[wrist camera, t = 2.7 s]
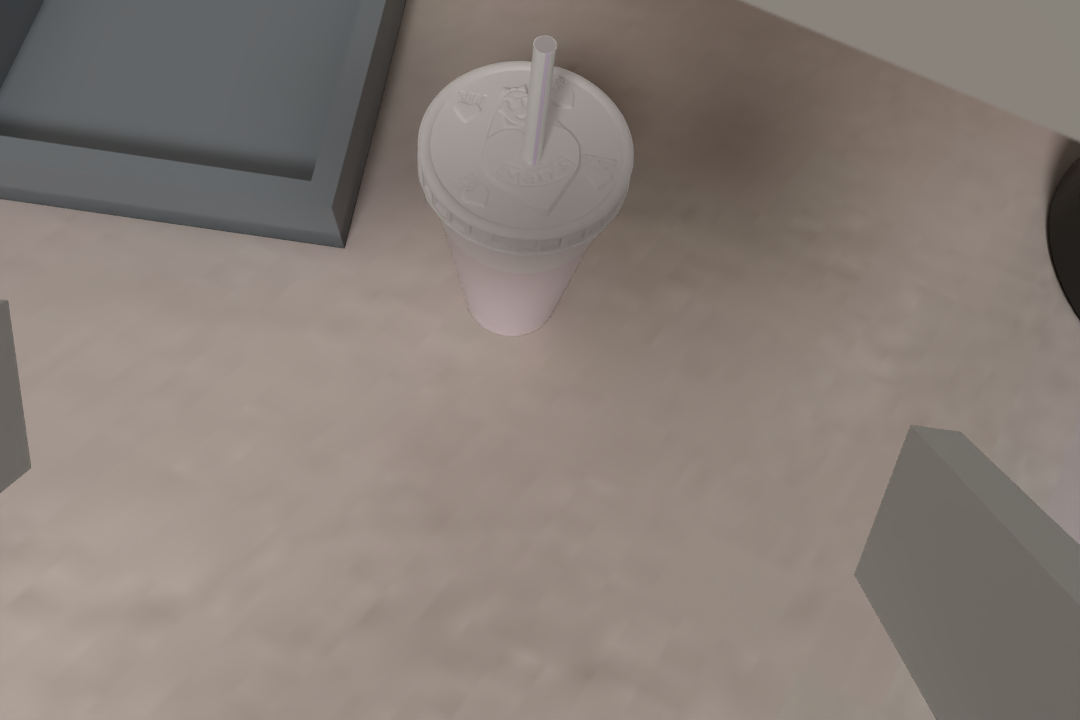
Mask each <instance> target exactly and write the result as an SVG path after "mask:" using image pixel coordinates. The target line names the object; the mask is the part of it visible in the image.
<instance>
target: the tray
mask: <svg viewBox="0 0 1080 720" xmlns="http://www.w3.org/2000/svg"><path fill="white" fill-rule="evenodd" d="M405 2H406V0H0V199H6V200H13V201H19V202H26V203H33V204H40V205H47V206H54V207H61V208H68V209H75V210H82V211H89V212H96V213H103V214H110V215H117V216H123V217H130V218H137V219H144V220H151V221H158V222H165V223H172V224H179V225H186V226H193V227H200V228H207V229H214V230H221V231H227V232H234V233H241V234H248V235H255V236H262V237H269V238H276V239H283V240H290V241H297V242H304V243H311V244H318V245H324V246H331V247H338V248H345V244H346V240H347V236H348V232H349V227H350V223H351V219H352V215H353V211H354V207H355V203H356V199H357V195H358V191H359V187H360V183H361V179H362V175H363V171H364V167H365V163H366V159H367V155H368V151H369V147H370V143H371V139H372V135H373V131H374V127H375V123H376V119H377V115H378V111H379V107H380V102H381V98H382V94H383V90H384V86H385V82H386V78H387V74H388V70H389V66H390V62H391V58H392V54H393V50H394V46H395V42H396V38H397V34H398V30H399V26H400V22H401V18H402V14H403V10H404V6H405Z"/></svg>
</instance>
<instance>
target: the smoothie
mask: <svg viewBox="0 0 1080 720" xmlns="http://www.w3.org/2000/svg"><path fill="white" fill-rule="evenodd" d="M556 50H557V43H556V41H555V40H554V39H553V38H552V37H550V36H545V35H544V36H539V37H537V38H536V39H535V40H534V43H533V53H532V61H507V62H499V63H494V64H490V65H485V66H482V67H479V68H476V69H474V70H472V71H469V72H467V73H465V74H463V75H461V76H460V77H458V78H456V79H455V80H454V81H452V82H451V83H449V84H448V85H447V86H446V87H445V88H443V89H442V90H441V91H440V92H439V93H438V94H437V96H436V97H435V98H434V99H433V101H432V102H431V104H430V105H429V107H428V108H427V110H426V112H425V114H424V116H423V119H422V122H421V125H420V129H419V134H418V153H417V161H418V178H419V181H420V184H421V186H422V189H423V192H424V194H425V197H426V200H427V202H428V203H429V205H430V206H431V207H432V209H433V210H434V211H435V213H436V214H437V215H438V216H439V218H440V219H441V221H442V223H443V226H444V229H445V233H446V236H447V239H448V243H449V246H450V249H451V253H452V256H453V260H454V263H455V266H456V270H457V273H458V276H459V280H460V283H461V286H462V290H463V293H464V296H465V300H466V303H467V306H468V309H469V311H470V313H471V315H472V316H473V318H474V319H475V320H476V321H477V322H478V323H479V324H480V325H481V326H482V327H484V328H485V329H487V330H489V331H491V332H493V333H496V334H499V335H503V336H521V335H525V334H528V333H531V332H533V331H535V330H537V329H538V328H540V327H541V326H542V325H544V324H545V323H546V321H547V320H548V319H549V318H550V316H551V314H552V313H553V311H554V309H555V307H556V305H557V304H558V302H559V300H560V298H561V296H562V294H563V293H564V291H565V289H566V287H567V285H568V284H569V282H570V280H571V278H572V276H573V274H574V273H575V271H576V269H577V267H578V265H579V264H580V262H581V260H582V258H583V256H584V254H585V253H586V251H587V249H588V247H589V245H590V243H591V242H592V240H593V239H594V237H595V236H597V235H599V234H600V233H601V232H602V231H603V230H604V229H605V228H606V227H607V226H608V225H609V224H610V223H611V221H612V220H613V219H614V218H615V217H616V216H617V215H618V213H619V211H620V209H621V207H622V205H623V202H624V200H625V198H626V196H627V194H628V188H629V181H630V178H631V175H632V170H633V163H634V147H633V141H632V137H631V133H630V130H629V127H628V125H627V123H626V121H625V119H624V117H623V115H622V113H621V112H620V110H619V109H618V107H617V106H616V105H615V104H614V102H613V101H612V100H611V99H610V98H609V97H608V96H607V95H606V94H605V93H604V92H603V91H602V90H601V89H599V88H598V87H597V86H596V85H594V84H593V83H591V82H590V81H588V80H587V79H585V78H583V77H582V76H580V75H578V74H576V73H574V72H571V71H569V70H566V69H564V68H561V67H557V66H554V65H555V57H556Z"/></svg>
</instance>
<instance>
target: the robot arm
mask: <svg viewBox="0 0 1080 720" xmlns="http://www.w3.org/2000/svg"><path fill="white" fill-rule="evenodd" d="M1049 230H1050V243H1051V250H1052V255H1053V259H1054V263H1055V266H1056V270H1057V273H1058V276H1059V278H1060V281H1061V283H1062V286H1063V288H1064V290H1065V293H1066V295H1067V296H1068V298H1069V300H1070V302H1071V304H1072V306H1073V308H1074V309H1075V311H1076V313H1077V314H1078V316H1079V317H1080V158H1079V159H1078V160H1077V161H1076V162H1075V163H1074V164H1073V165H1072V166H1071V167H1070V168H1069V169H1068V171H1067V172H1066V173H1065V175H1064V176H1063V178H1062V180H1061V181H1060V183H1059V185H1058V187H1057V190H1056V192H1055V195H1054V198H1053V202H1052V206H1051V212H1050V224H1049ZM29 469H31V463H30V455H29V448H28V441H27V434H26V426H25V419H24V412H23V405H22V397H21V390H20V383H19V376H18V368H17V361H16V354H15V347H14V339H13V332H12V325H11V318H10V310H9V303H8V300H0V493H1V492H2V491H3V490H5V489H6V488H7V487H8V486H10V485H11V484H12V483H13V482H14V481H16V480H17V479H18V478H19V477H21V476H22V475H23V474H24V473H26V472H27V471H28V470H29ZM854 575H855V577H856V579H857V580H858V582H859V584H860V586H861V587H862V589H863V591H864V593H865V594H866V596H867V598H868V600H869V602H870V603H871V605H872V607H873V609H874V610H875V612H876V614H877V616H878V617H879V619H880V621H881V623H882V624H883V626H884V628H885V630H886V632H887V633H888V635H889V637H890V639H891V640H892V642H893V644H894V646H895V647H896V649H897V651H898V653H899V655H900V656H901V658H902V660H903V662H904V663H905V665H906V667H907V669H908V670H909V672H910V674H911V676H912V678H913V679H914V681H915V683H916V685H917V686H918V688H919V690H920V692H921V693H922V695H923V697H924V699H925V700H926V702H927V704H928V706H929V708H930V709H931V711H932V713H933V715H934V716H935V718H936V720H1080V545H1079V544H1078V543H1077V542H1076V541H1075V540H1073V539H1072V538H1071V537H1070V536H1069V535H1068V534H1067V533H1066V532H1065V531H1064V530H1063V529H1062V528H1061V527H1060V526H1059V525H1058V524H1057V523H1056V522H1055V521H1054V520H1052V519H1051V518H1050V517H1049V516H1048V515H1047V514H1046V513H1045V512H1044V511H1043V510H1042V509H1041V508H1040V507H1039V506H1038V505H1037V504H1036V503H1035V502H1034V501H1033V500H1032V499H1030V498H1029V497H1028V496H1027V495H1026V494H1025V493H1024V492H1023V491H1022V490H1021V489H1020V488H1019V487H1018V486H1017V485H1016V484H1015V483H1014V482H1013V481H1012V480H1011V479H1010V478H1008V477H1007V476H1006V475H1005V474H1004V473H1003V472H1002V471H1001V470H1000V469H999V468H998V467H997V466H996V465H995V464H994V463H993V462H992V461H991V460H990V459H989V458H987V457H986V456H985V455H984V454H983V453H982V452H981V451H980V450H979V449H978V448H977V447H976V446H975V445H974V444H973V443H972V442H971V441H970V440H969V439H968V438H967V437H965V436H964V435H963V434H962V433H961V432H958V431H950V430H943V429H936V428H929V427H921V426H914V425H910V428H909V430H908V433H907V436H906V438H905V441H904V444H903V446H902V449H901V452H900V454H899V457H898V460H897V462H896V465H895V468H894V470H893V473H892V476H891V478H890V481H889V484H888V486H887V489H886V492H885V494H884V497H883V499H882V502H881V505H880V507H879V510H878V513H877V515H876V518H875V521H874V523H873V526H872V529H871V531H870V534H869V537H868V539H867V542H866V545H865V547H864V550H863V553H862V555H861V558H860V561H859V563H858V566H857V569H856V571H855V574H854Z"/></svg>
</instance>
